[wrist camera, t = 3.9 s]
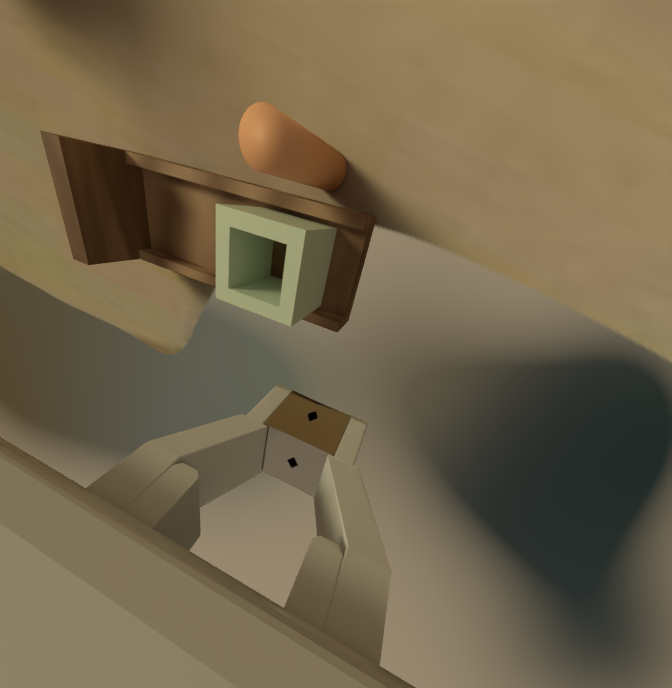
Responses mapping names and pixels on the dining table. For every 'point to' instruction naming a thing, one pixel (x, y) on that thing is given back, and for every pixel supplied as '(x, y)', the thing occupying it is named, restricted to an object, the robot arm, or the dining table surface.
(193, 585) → the robot arm
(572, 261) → the dining table surface
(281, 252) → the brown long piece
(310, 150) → the dowel
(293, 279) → the socket block
